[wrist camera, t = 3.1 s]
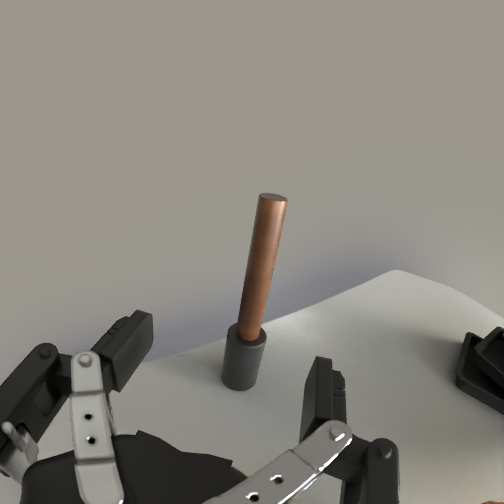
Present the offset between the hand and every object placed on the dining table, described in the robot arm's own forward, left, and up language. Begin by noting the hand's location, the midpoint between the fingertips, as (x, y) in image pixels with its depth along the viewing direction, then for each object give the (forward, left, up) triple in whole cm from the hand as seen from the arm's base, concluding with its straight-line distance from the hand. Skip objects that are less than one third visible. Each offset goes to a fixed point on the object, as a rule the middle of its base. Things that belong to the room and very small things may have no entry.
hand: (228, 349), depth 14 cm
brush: (+9, +3, -13) cm, 16 cm away
